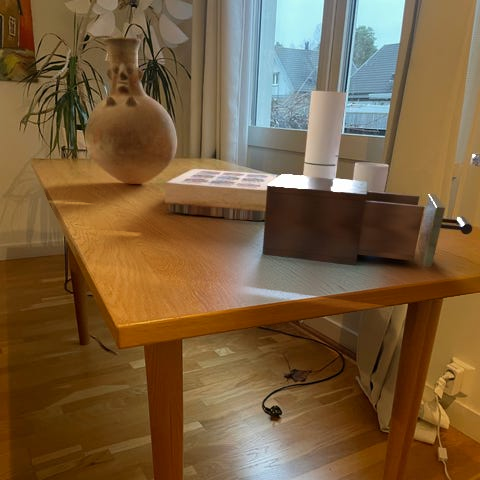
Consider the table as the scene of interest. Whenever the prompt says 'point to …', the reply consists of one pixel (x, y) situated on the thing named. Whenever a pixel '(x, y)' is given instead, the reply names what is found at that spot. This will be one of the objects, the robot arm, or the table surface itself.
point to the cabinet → (314, 218)
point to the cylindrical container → (324, 134)
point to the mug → (371, 175)
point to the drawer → (404, 226)
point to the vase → (129, 122)
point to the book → (219, 193)
